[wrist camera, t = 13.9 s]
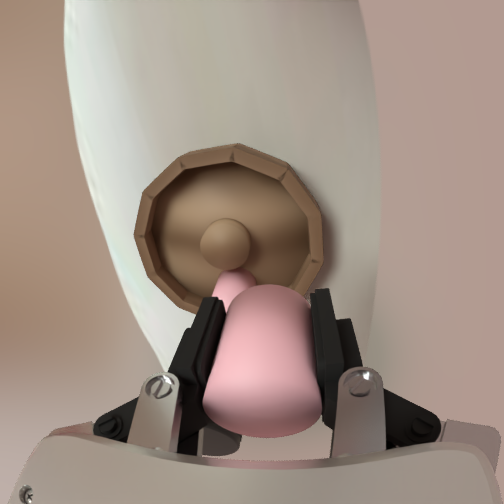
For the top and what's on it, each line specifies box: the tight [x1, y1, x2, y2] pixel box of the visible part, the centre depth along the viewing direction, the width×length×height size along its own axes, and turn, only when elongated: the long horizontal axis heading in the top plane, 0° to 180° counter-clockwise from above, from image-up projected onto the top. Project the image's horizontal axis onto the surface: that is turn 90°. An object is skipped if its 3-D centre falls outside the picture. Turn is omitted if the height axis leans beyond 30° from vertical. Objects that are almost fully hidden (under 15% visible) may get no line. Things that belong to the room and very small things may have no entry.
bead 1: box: [212, 267, 257, 313], centre depth 24 cm, size 4×4×4 cm
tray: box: [134, 143, 324, 314], centre depth 24 cm, size 16×16×3 cm
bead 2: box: [202, 284, 322, 438], centre depth 10 cm, size 4×4×4 cm
